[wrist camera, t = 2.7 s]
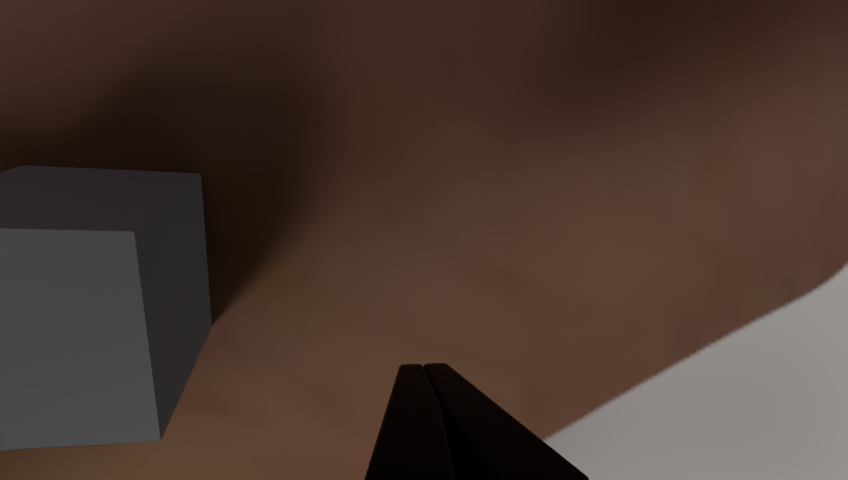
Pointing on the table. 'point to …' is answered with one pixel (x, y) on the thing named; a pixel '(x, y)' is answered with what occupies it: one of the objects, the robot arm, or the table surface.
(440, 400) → the robot arm
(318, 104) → the table surface
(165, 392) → the plug
